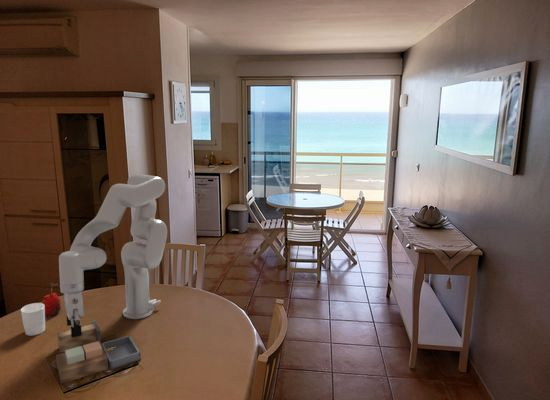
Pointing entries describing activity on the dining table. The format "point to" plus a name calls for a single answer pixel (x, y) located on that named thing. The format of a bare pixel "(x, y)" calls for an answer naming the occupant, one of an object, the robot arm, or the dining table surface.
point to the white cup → (33, 318)
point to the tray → (121, 352)
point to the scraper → (79, 337)
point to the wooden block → (80, 366)
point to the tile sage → (74, 355)
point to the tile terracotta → (92, 350)
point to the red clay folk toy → (51, 303)
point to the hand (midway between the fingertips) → (74, 330)
